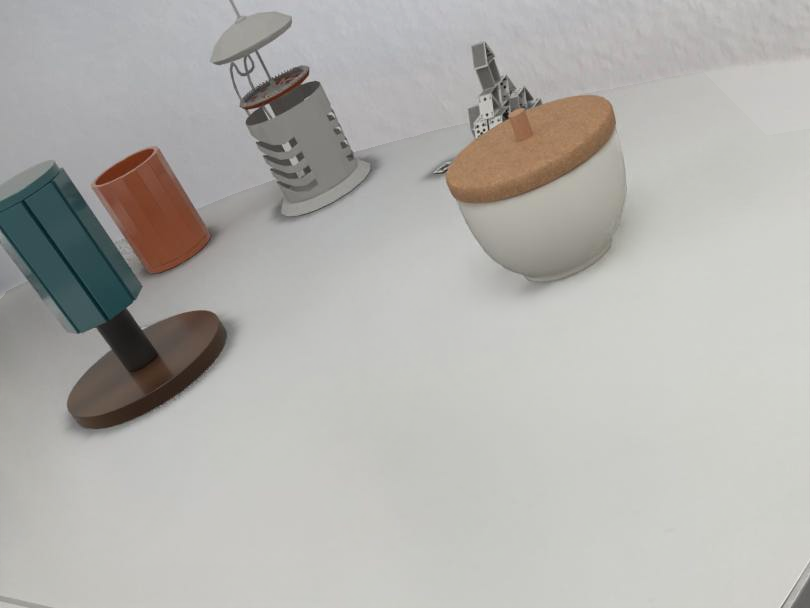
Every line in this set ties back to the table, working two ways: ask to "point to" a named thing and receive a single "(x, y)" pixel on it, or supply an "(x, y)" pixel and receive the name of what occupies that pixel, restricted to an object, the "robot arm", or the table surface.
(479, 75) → the house of cards
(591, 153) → the trinket box
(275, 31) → the french press
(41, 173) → the teal tall block
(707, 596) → the table surface
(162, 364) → the towel holder
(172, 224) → the terracotta cup
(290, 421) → the table surface
